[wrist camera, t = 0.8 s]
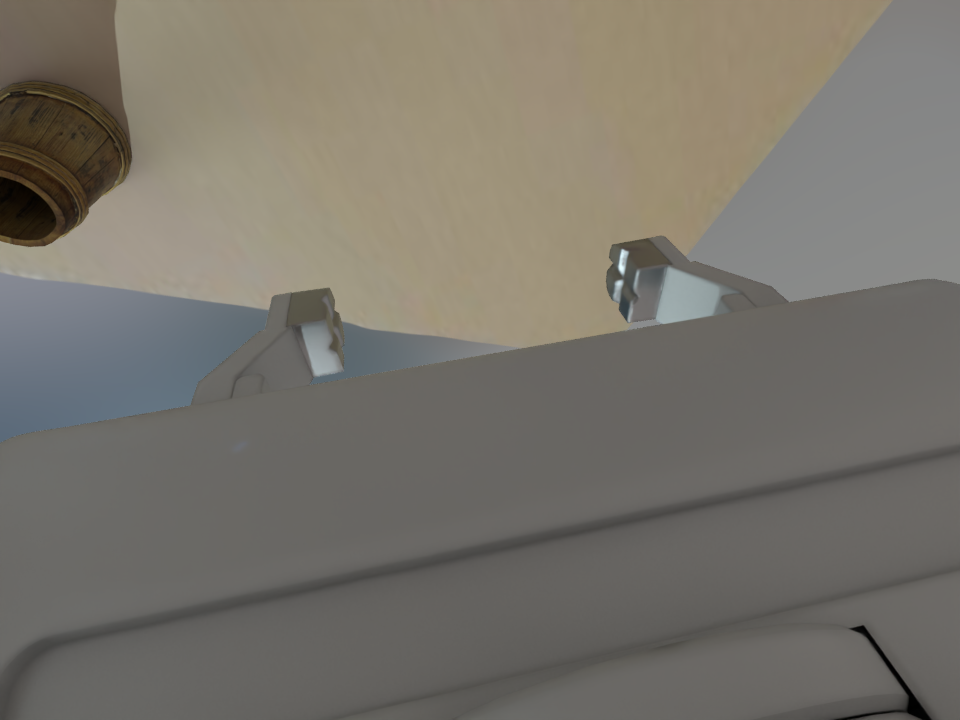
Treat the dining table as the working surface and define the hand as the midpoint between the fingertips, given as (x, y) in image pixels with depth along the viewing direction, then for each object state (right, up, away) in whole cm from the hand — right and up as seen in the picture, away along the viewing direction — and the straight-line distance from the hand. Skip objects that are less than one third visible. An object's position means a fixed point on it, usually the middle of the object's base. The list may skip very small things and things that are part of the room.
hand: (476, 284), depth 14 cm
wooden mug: (-36, +16, +25) cm, 47 cm away
